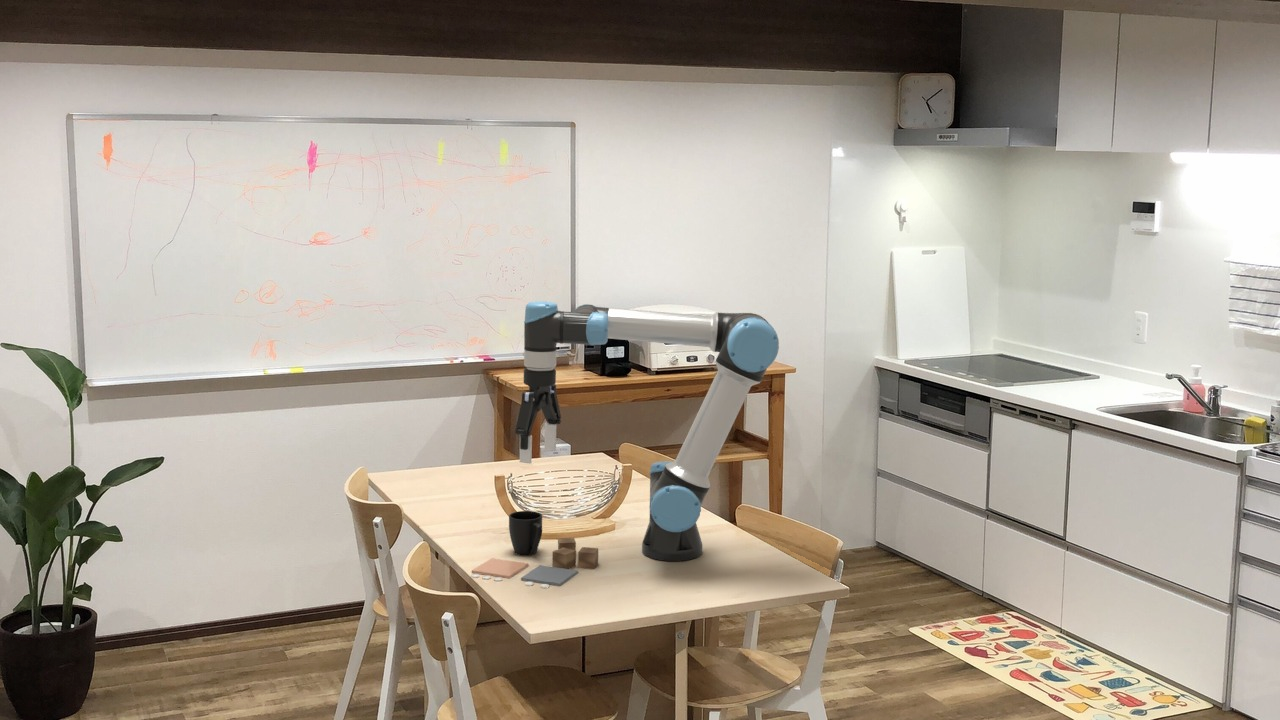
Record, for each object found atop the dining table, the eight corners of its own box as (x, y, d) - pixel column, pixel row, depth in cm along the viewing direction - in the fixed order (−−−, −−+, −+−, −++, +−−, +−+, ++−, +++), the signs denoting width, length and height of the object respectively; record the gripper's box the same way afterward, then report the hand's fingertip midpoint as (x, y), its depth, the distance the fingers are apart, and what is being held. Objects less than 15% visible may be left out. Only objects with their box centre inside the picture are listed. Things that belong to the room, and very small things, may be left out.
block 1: (574, 553, 307) (574, 537, 306) (575, 558, 303) (575, 542, 302) (558, 553, 306) (558, 538, 306) (559, 558, 302) (559, 543, 302)
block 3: (598, 564, 299) (598, 548, 298) (594, 569, 295) (594, 553, 294) (582, 562, 299) (582, 547, 299) (578, 568, 296) (578, 551, 295)
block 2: (575, 566, 297) (575, 550, 296) (565, 570, 293) (565, 554, 293) (563, 563, 299) (563, 547, 298) (552, 567, 296) (552, 551, 295)
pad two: (577, 572, 292) (578, 570, 291) (554, 589, 280) (554, 587, 280) (539, 567, 295) (539, 565, 295) (515, 583, 283) (515, 581, 283)
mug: (523, 563, 298) (523, 525, 296) (503, 550, 308) (503, 513, 307) (554, 558, 302) (554, 521, 300) (533, 545, 312) (533, 509, 311)
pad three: (528, 565, 296) (528, 563, 296) (503, 582, 284) (503, 579, 284) (491, 560, 300) (491, 558, 300) (465, 576, 288) (465, 573, 288)
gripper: (547, 359, 300) (545, 444, 304) (501, 374, 277) (499, 466, 281) (575, 362, 298) (573, 447, 301) (531, 377, 275) (529, 469, 278)
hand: (538, 456), depth 291 cm, fingers open, 13 cm apart
